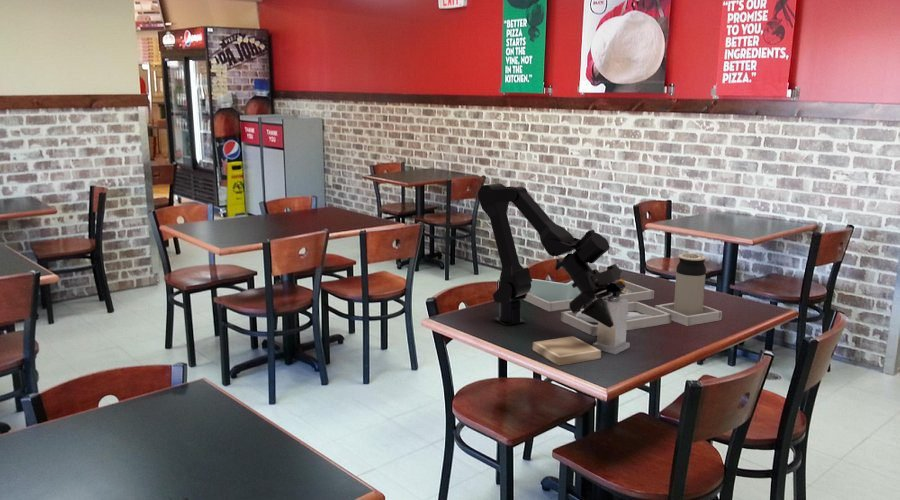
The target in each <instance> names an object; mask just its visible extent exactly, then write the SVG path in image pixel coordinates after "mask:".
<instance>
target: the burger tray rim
mask: <svg viewBox="0 0 900 500" xmlns="http://www.w3.org/2000/svg"><path fill="white" fill-rule="evenodd" d="M624 282H625V284H626V286H625V288H629V289H631V290H633V291H634V293H628V294H621V295H619V298H623V299H628V302H634V301H637V302H640V301H645V300H653V299H654V298H655V290H652V289H649V288H647V287H644V286H641V285H639V284H638V285H637V284H635V283H633V282H629V281H628V280H627V281H626V280H624ZM609 284H610V283H609Z"/></svg>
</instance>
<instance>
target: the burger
mask: <svg viewBox="0 0 900 500" xmlns="http://www.w3.org/2000/svg"><path fill="white" fill-rule="evenodd" d="M624 276H625V275H623V276H622V277H621V279H620V280H618V281H622V283H623V284H624V285H625V286H626V284H625V282H624V281H625V280H624V279H623V278H624ZM616 281H617V280H616ZM628 293H634V291H633V290H631V289H629V288H624V289H623V290H622V291H621V293H620V295H621V294H628Z"/></svg>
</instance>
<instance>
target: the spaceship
mask: <svg viewBox="0 0 900 500" xmlns="http://www.w3.org/2000/svg"><path fill="white" fill-rule="evenodd" d="M581 312H582V311H581ZM581 312H578V313H577V314H576V316H575V317H576V318H579V319H581V320H583V321H585V322H587V323H590V324H598V321H597V320H595V319H593V318H591V317H589V316H587V315H585V314H582V313H581ZM651 316H652V315H645V314H643V313H640V312H638V311H636V312H635V311H629V312H627V320H632V319H638V318H645V317H651Z"/></svg>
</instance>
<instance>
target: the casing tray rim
mask: <svg viewBox="0 0 900 500" xmlns="http://www.w3.org/2000/svg"><path fill="white" fill-rule="evenodd" d="M583 310H584V308H581V311H583ZM581 311H579V312H581ZM635 311H636V312H637V313H639V314H645V315H652V316H651V317H645V318H638V319H632V320H627V329H626V331H633V330H638V329H644V328H651V327H656V326H661V325H667V324H671V323H672V320H671V318H672V314H669V313H666V312H664V311H661V310H658V309H656V308H655V307H653V306H650V305H647V304H645V303H642V302H640V301H633V302H628V311H627V312H635ZM577 313H578V312H577ZM577 313H575V314H573V313H572V311H571V310H567V311H561V312H560V322H562V323H564V324H567V325H569V326H571V327H573V328H575V329H577V330H579V331H581V332H583V333H586V334H588V335H590V336H591V337H595V336H597V334H598V324H595V325H594V324H593V323H589V322H585V321H583V320H581V319H579V318H576V317H575V316H576V314H577Z"/></svg>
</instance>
